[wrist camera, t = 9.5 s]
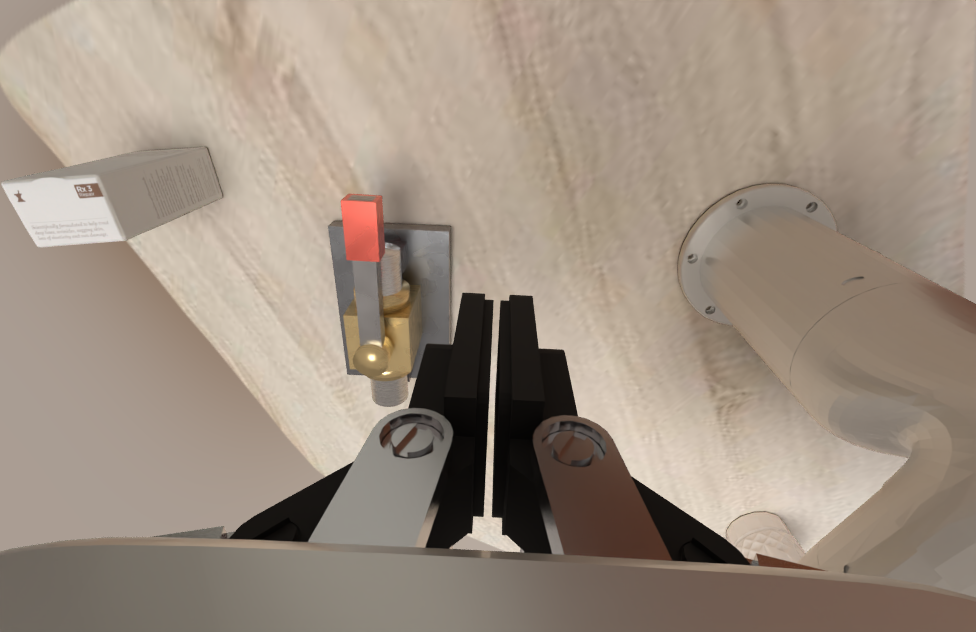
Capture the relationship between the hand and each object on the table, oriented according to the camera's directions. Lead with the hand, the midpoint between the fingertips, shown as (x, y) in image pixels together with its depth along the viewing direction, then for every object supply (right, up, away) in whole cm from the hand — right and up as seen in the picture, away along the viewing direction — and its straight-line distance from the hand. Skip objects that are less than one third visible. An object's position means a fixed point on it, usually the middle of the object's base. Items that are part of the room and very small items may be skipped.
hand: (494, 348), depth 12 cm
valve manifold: (-9, +2, +32) cm, 34 cm away
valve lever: (-9, +3, +23) cm, 25 cm away
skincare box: (-25, +13, +27) cm, 39 cm away
